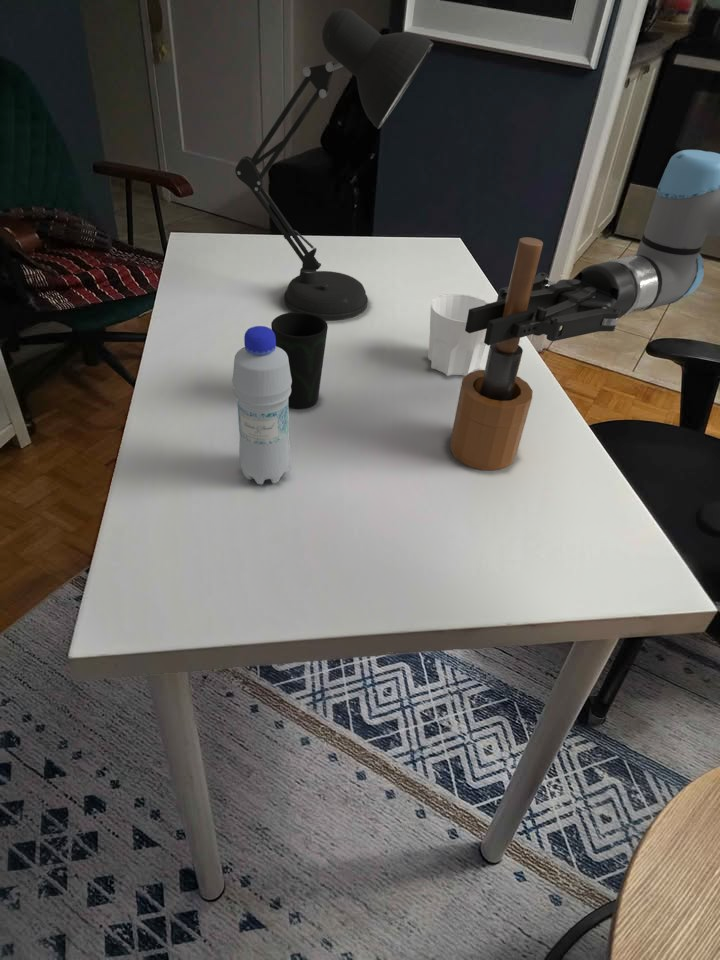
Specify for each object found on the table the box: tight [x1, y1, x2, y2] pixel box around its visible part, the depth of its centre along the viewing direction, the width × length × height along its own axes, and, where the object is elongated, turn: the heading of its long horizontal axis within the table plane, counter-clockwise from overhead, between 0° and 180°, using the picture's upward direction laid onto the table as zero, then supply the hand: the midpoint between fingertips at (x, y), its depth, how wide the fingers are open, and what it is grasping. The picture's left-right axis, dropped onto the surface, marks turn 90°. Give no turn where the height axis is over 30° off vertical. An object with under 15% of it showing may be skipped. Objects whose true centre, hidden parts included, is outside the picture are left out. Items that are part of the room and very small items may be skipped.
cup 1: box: [270, 311, 329, 410], centre depth 92 cm, size 8×8×12 cm
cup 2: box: [427, 293, 490, 377], centre depth 104 cm, size 10×10×10 cm
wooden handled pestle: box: [480, 236, 544, 401], centre depth 77 cm, size 4×4×20 cm
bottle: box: [231, 325, 292, 485], centre depth 76 cm, size 7×7×20 cm
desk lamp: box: [234, 7, 434, 321], centre depth 107 cm, size 24×26×45 cm
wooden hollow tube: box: [449, 369, 533, 471], centre depth 86 cm, size 9×9×10 cm
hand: (478, 327), depth 74 cm, fingers closed on wooden handled pestle, 3 cm apart
